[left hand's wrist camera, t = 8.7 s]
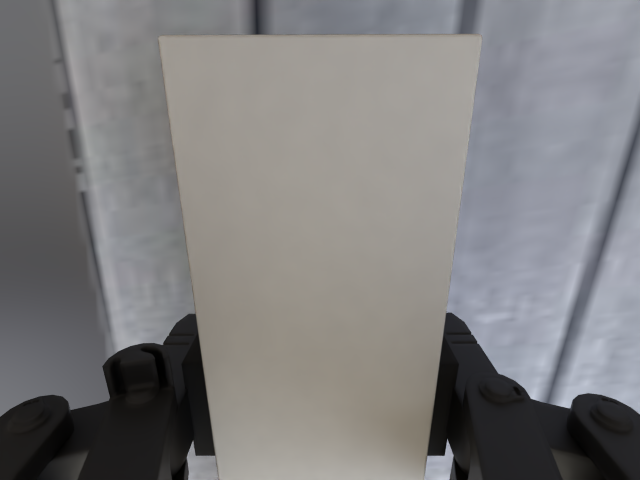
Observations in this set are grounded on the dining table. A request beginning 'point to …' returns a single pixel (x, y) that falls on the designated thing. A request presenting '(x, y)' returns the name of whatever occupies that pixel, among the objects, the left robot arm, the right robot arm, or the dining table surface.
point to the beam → (320, 240)
